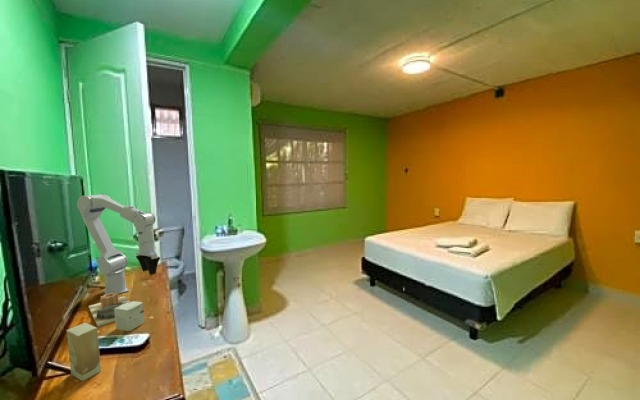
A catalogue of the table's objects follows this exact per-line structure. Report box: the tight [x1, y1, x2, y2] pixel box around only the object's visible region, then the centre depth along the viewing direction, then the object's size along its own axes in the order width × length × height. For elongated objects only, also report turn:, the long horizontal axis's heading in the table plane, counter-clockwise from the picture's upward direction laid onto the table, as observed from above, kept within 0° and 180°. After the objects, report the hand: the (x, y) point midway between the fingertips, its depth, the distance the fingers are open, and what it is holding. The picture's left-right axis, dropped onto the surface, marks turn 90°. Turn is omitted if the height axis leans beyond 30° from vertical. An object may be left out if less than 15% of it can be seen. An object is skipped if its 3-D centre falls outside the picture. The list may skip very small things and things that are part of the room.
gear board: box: [88, 295, 130, 328], centre depth 110 cm, size 20×12×4 cm, turn 45°
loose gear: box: [100, 293, 119, 308], centre depth 112 cm, size 5×5×4 cm
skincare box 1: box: [66, 322, 102, 382], centre depth 75 cm, size 6×4×12 cm
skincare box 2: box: [114, 300, 146, 332], centre depth 98 cm, size 6×6×7 cm
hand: (149, 272), depth 124 cm, fingers open, 7 cm apart
